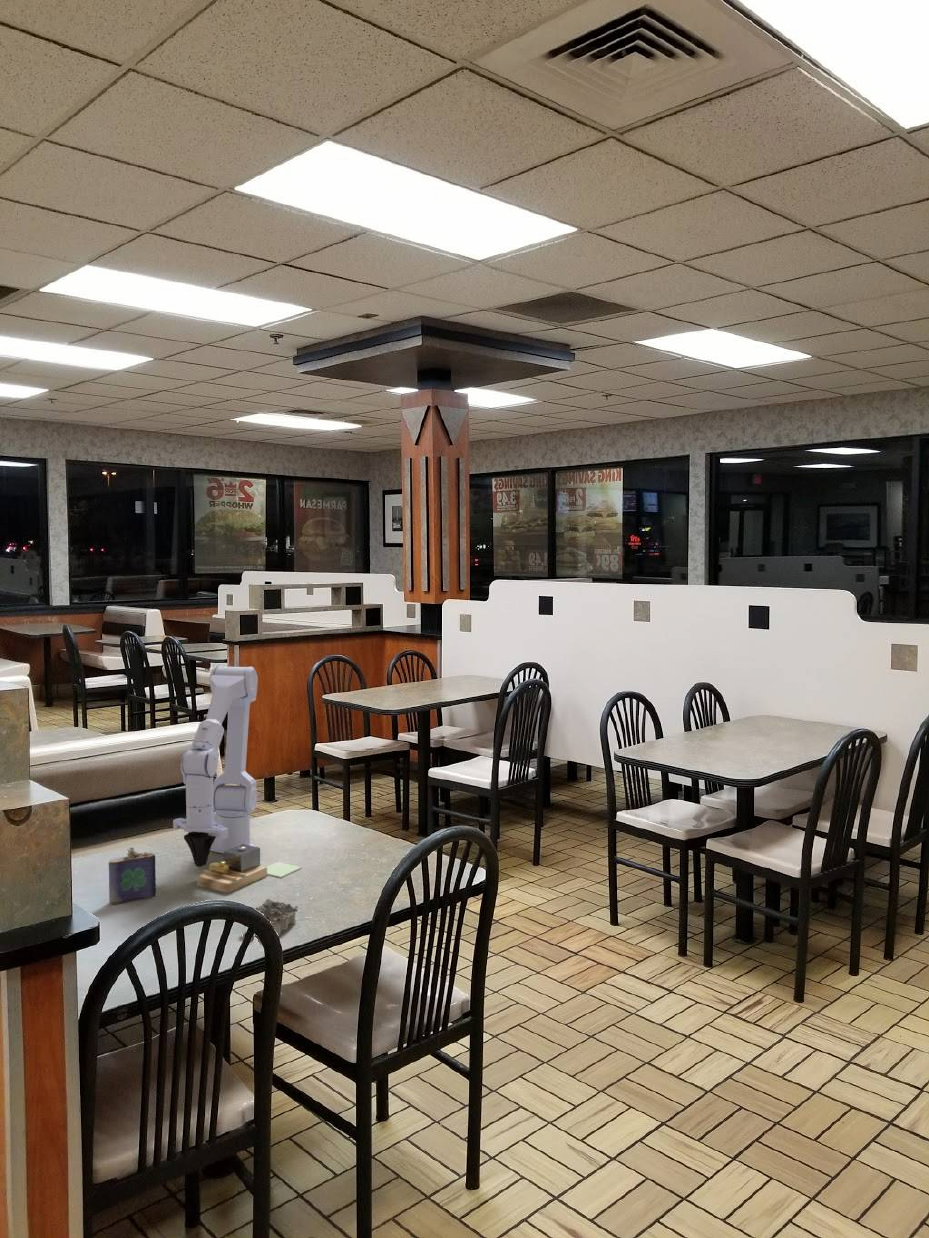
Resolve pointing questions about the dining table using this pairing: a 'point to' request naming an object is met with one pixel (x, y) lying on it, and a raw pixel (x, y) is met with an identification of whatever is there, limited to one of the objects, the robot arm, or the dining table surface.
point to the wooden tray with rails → (230, 879)
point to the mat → (281, 869)
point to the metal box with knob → (242, 858)
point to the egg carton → (278, 914)
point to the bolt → (220, 867)
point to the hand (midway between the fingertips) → (200, 865)
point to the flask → (132, 877)
